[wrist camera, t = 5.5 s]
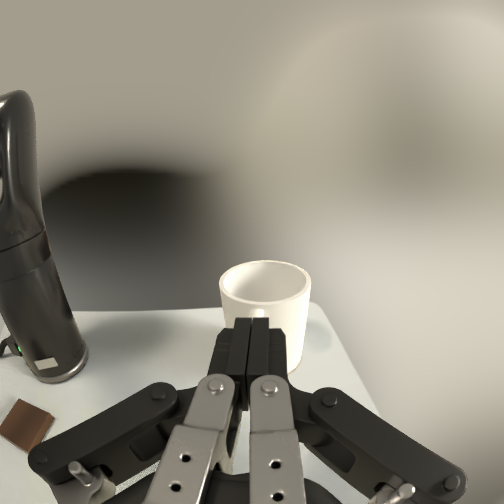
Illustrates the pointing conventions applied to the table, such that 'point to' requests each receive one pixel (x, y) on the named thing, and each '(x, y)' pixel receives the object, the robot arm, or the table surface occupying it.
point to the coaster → (25, 425)
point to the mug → (269, 299)
